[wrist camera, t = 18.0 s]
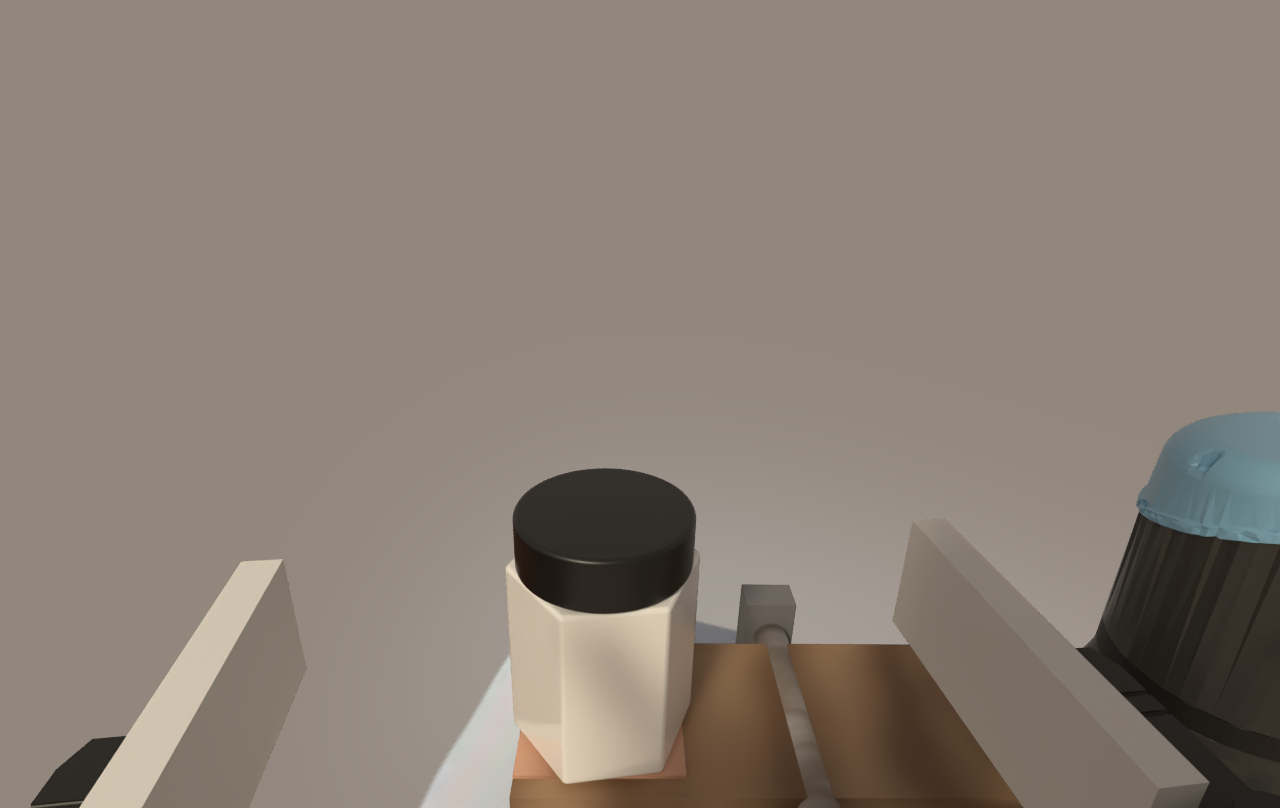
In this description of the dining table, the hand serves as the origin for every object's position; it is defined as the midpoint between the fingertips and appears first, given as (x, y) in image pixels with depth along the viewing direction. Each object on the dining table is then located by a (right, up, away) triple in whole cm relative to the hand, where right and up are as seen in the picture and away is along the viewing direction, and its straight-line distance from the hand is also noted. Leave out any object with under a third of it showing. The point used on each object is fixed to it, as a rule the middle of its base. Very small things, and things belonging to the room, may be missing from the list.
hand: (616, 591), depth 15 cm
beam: (+9, -13, +22) cm, 26 cm away
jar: (-1, -12, +21) cm, 24 cm away
